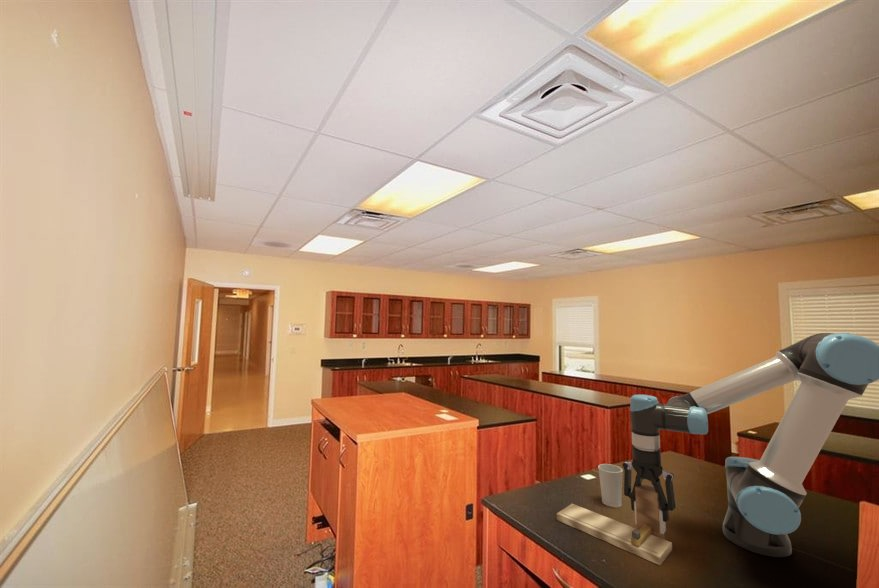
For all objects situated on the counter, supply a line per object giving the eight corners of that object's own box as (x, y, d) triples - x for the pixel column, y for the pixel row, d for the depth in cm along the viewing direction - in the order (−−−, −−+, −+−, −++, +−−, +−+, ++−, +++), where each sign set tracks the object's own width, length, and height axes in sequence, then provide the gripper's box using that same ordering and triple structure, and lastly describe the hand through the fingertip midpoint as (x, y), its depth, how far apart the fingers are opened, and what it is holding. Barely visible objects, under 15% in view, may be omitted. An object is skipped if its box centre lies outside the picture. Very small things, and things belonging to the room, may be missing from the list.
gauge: (664, 539, 106) (661, 489, 107) (647, 559, 97) (644, 504, 98) (642, 530, 110) (640, 483, 112) (623, 549, 101) (621, 497, 103)
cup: (598, 505, 126) (597, 469, 127) (600, 495, 133) (598, 462, 134) (624, 510, 122) (622, 474, 124) (624, 500, 129) (622, 466, 131)
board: (672, 549, 101) (671, 542, 101) (660, 565, 94) (659, 557, 94) (572, 509, 123) (572, 503, 123) (556, 519, 117) (556, 513, 117)
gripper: (686, 452, 105) (691, 536, 103) (618, 437, 119) (622, 510, 117) (678, 458, 100) (683, 546, 98) (609, 442, 114) (612, 519, 112)
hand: (650, 527), depth 107 cm, fingers closed on gauge, 6 cm apart
